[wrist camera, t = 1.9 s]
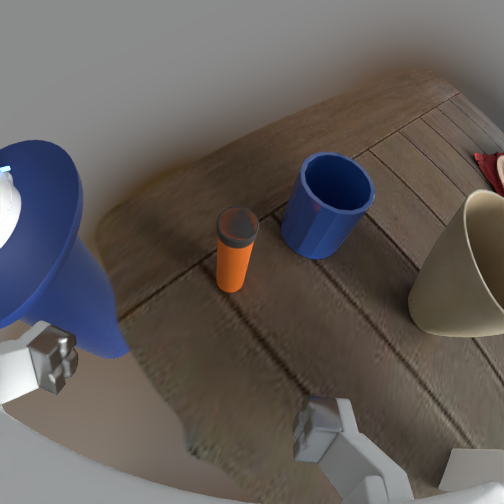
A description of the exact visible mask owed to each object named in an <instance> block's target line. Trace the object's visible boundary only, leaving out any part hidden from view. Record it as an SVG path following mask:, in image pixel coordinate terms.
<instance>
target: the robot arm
mask: <svg viewBox="0 0 504 504" xmlns="http://www.w3.org/2000/svg"><path fill="white" fill-rule="evenodd" d="M8 170H10V167H9V166H6V167H2V168H0V248H1V247H2V246H3V245H4V244H5V243H6V241H7V240H8V238H9V237H10V235H11V234H12V232H13V230H14V228H15V226H16V224H17V221H18V219H19V215H20V211H21V196H20V193H19V191H18V190H17V189H16V188H15V187H14V185H13V178H12V175H11V174H10V173H9V172H4V171H8ZM75 345H76V337H75V336H74V335H73V334H72V333H69V332H67V331H65V330H63V329H60V328H58V327H56V326H54V325H51V324H49V323H47V322H45V321H38V322H37V323H36V324H35V325H34V326H32V327H31V328H30V329H29V330H28V331H27V332H25V333H24V334H23V335H22V336H21V337H20V338H18V339H17V340H16V341H15V340H9V341H4V342H0V504H257V503H249V502H242V501H235V500H229V499H223V498H217V497H211V496H207V495H202V494H197V493H193V492H189V491H184V490H180V489H176V488H173V487H169V486H165V485H161V484H158V483H155V482H151V481H148V480H145V479H142V478H139V477H136V476H133V475H130V474H127V473H125V472H121V471H119V470H116V469H114V468H111V467H109V466H106V465H104V464H101V463H99V462H96V461H94V460H92V459H89V458H87V457H85V456H82V455H80V454H78V453H76V452H74V451H72V450H70V449H68V448H66V447H64V446H62V445H59V444H58V443H56V442H54V441H52V440H50V439H48V438H46V437H44V436H43V435H41V434H39V433H37V432H36V431H34V430H32V429H30V428H29V427H27V426H25V425H24V424H22V423H21V422H19V421H17V420H16V419H14V418H13V417H11V416H10V415H8V414H6V413H5V411H4V409H3V407H2V405H1V404H3V403H5V402H8V401H10V400H12V399H14V398H17V397H19V396H21V395H23V394H26V393H28V392H30V391H32V390H34V389H36V388H38V386H39V387H41V388H43V389H45V390H47V391H49V392H51V393H54V394H56V395H57V394H58V393H59V392H60V391H61V389H62V388H63V387H64V385H65V384H66V383H65V379H66V378H69V377H72V375H73V374H74V373H75V371H76V368H77V365H78V353H77V352H76V350H75V349H74V346H75ZM293 437H294V438H295V439H296V442H295V444H294V446H293V451H294V461H299V462H309V463H318V466H319V467H320V468H321V470H322V471H323V472H324V474H325V475H326V477H327V478H328V479H329V481H330V482H331V483H332V485H333V486H334V487H335V489H336V490H337V491H338V493H339V494H340V495H341V497H342V498H343V500H342V501H341V502H340V503H339V504H504V485H503V484H501V483H499V482H497V481H488V482H484V483H481V484H478V485H475V486H471V487H468V488H464V489H461V490H457V491H453V492H449V493H445V494H440V495H436V496H431V497H426V498H421V499H415V500H414V497H413V493H412V490H411V487H410V483H409V480H408V477H407V474H406V472H405V471H404V470H403V469H402V468H400V467H399V466H398V465H397V464H396V463H395V462H394V461H393V460H391V459H390V458H389V457H388V456H387V455H386V454H385V453H384V452H383V451H381V450H380V449H379V448H378V447H377V446H376V445H375V444H374V443H373V442H372V441H370V440H369V439H368V438H367V437H366V436H365V435H364V434H363V433H359V432H358V428H357V425H356V421H355V417H354V413H353V410H352V406H351V402H350V400H349V399H342V398H329V397H320V396H311V395H306V396H305V397H304V399H303V401H302V409H301V410H299V411H298V412H297V414H296V416H295V419H294V423H293Z"/></svg>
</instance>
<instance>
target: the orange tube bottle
mask: <svg viewBox="0 0 504 504" xmlns="http://www.w3.org/2000/svg"><path fill="white" fill-rule="evenodd" d="M258 228H259V222H258V219H257V217H256V215H255V214H254V213H253V212H252V211H251V210H249V209H247V208H245V207H241V206H234V207H230V208H227V209H225V210H224V211H223V212H222V213H221V214H220V215H219V217H218V220H217V235H218V246H217V276H216V281H217V285H218V286H219V288H220V289H221V290H223V291H225V292H229V293H231V292H236V291H238V290H239V289H240V288H241V287H242V285H243V282H244V278H245V274H246V270H247V266H248V262H249V258H250V254H251V251H252V247H253V243H254V240H255V239H256V236H257V232H258Z"/></svg>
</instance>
